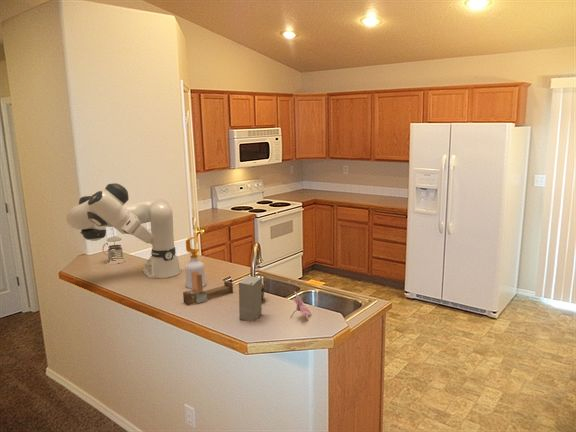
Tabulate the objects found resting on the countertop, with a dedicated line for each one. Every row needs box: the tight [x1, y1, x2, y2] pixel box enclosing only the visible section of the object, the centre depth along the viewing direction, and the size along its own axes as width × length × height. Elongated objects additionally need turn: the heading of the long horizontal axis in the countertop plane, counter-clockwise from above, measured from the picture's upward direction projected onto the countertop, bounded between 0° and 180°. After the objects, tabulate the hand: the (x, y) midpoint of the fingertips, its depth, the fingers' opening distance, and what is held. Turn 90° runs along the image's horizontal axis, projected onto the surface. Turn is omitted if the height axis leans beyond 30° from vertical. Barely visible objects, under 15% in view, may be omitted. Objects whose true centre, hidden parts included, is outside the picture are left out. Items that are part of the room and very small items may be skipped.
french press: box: [102, 230, 124, 261], centre depth 266 cm, size 10×12×25 cm
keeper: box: [188, 272, 208, 304], centre depth 202 cm, size 7×5×12 cm
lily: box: [290, 290, 313, 321], centre depth 182 cm, size 12×12×10 cm
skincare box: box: [238, 275, 263, 322], centre depth 183 cm, size 8×7×16 cm
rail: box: [182, 280, 234, 306], centre depth 206 cm, size 4×23×5 cm, turn 129°
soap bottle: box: [184, 235, 206, 289], centre depth 221 cm, size 9×9×25 cm
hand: (153, 243), depth 189 cm, fingers open, 8 cm apart
